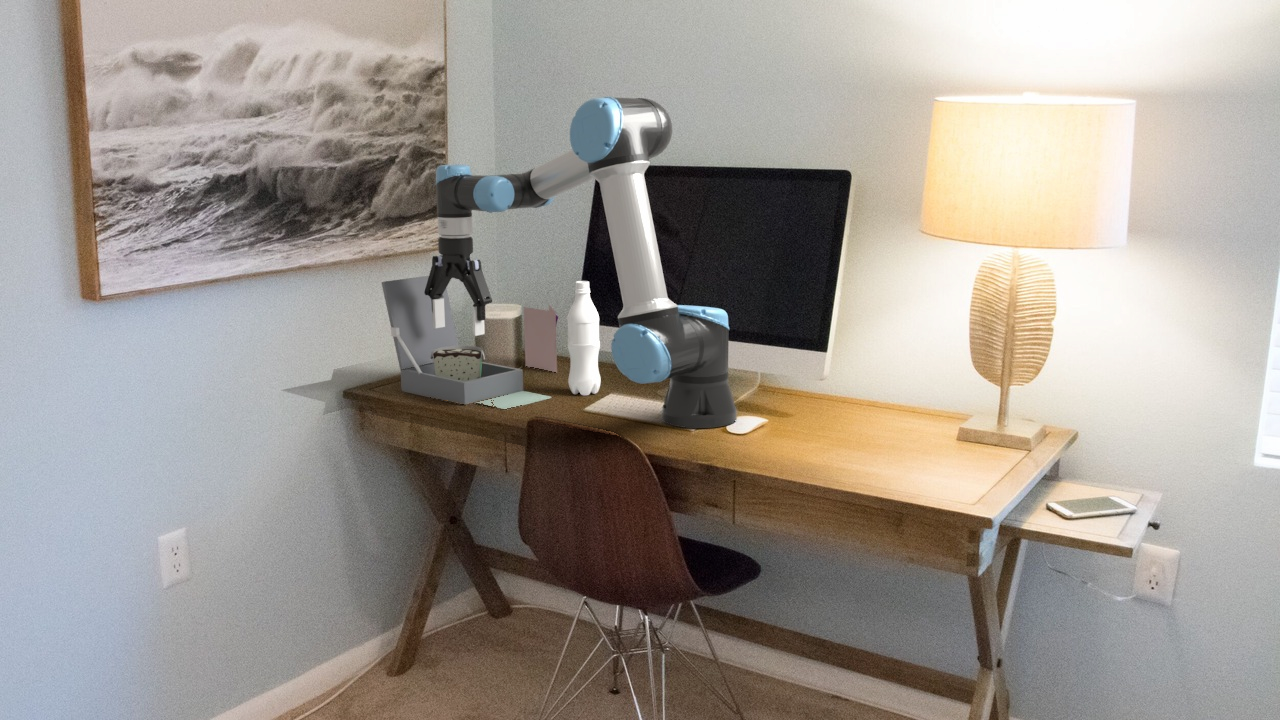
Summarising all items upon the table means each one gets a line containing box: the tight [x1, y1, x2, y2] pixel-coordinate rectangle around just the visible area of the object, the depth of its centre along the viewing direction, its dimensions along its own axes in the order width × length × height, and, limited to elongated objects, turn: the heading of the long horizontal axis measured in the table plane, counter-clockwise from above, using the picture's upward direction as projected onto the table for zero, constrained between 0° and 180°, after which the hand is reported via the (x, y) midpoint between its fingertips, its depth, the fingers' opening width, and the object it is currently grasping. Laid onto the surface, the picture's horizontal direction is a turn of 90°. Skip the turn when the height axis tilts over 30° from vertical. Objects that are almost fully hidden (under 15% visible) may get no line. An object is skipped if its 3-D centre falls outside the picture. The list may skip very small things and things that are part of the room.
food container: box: [430, 345, 486, 381], centre depth 254 cm, size 12×6×10 cm, turn 84°
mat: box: [474, 390, 552, 410], centre depth 246 cm, size 9×14×1 cm, turn 139°
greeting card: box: [523, 304, 559, 374], centre depth 276 cm, size 11×7×15 cm, turn 12°
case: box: [380, 275, 524, 404], centre depth 254 cm, size 27×17×25 cm, turn 49°
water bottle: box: [566, 280, 602, 397], centre depth 250 cm, size 7×7×25 cm
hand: (458, 331), depth 253 cm, fingers open, 13 cm apart
